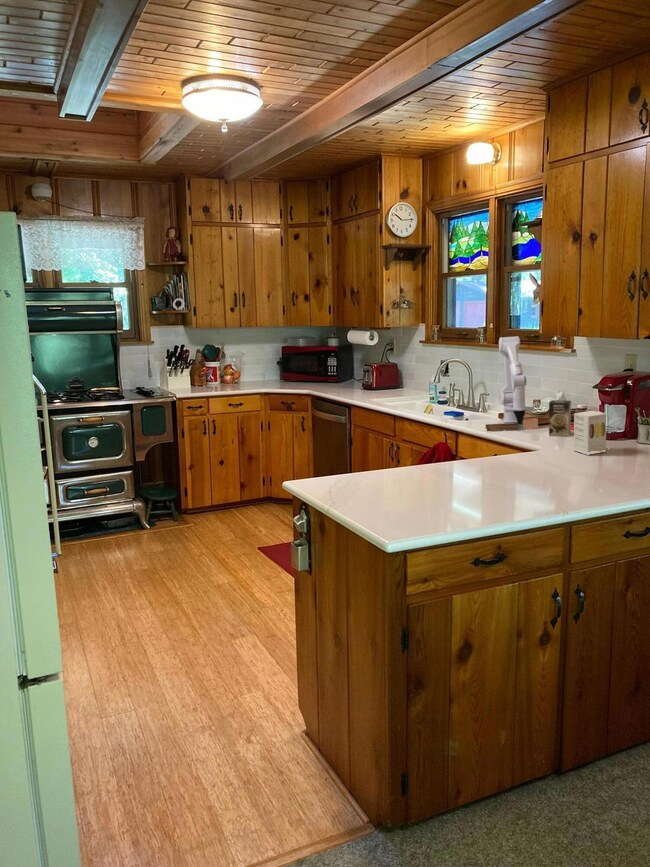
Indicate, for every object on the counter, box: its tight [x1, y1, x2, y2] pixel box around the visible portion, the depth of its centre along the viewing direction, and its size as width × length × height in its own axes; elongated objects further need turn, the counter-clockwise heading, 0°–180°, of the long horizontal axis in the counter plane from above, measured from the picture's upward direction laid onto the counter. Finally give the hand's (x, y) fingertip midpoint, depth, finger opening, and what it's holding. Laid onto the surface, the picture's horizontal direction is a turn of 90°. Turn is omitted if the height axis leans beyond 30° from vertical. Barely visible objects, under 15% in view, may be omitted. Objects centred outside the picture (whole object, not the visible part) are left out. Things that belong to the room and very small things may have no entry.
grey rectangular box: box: [548, 399, 572, 438], centre depth 327 cm, size 9×6×16 cm
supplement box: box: [573, 410, 607, 452], centre depth 293 cm, size 10×9×17 cm
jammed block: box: [521, 417, 539, 430], centre depth 347 cm, size 4×7×4 cm, turn 82°
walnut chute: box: [485, 422, 523, 432], centre depth 349 cm, size 8×17×3 cm, turn 82°
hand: (519, 425), depth 348 cm, fingers closed
